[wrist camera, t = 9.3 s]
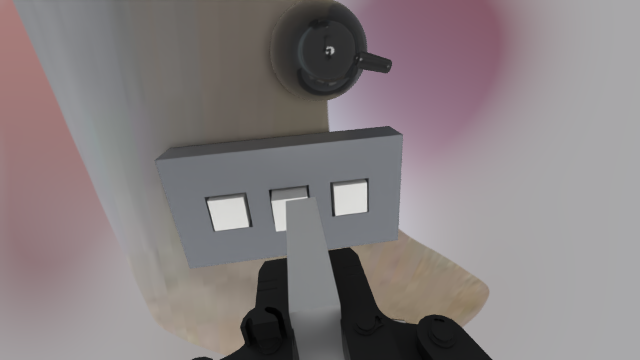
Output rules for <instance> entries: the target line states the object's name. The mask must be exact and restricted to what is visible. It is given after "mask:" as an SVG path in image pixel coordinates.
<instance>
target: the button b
mask: <svg viewBox="0 0 640 360" xmlns="http://www.w3.org/2000/svg"><path fill="white" fill-rule="evenodd" d="M305 198H308V196H307V191H306V186H305V185H304V186H296V187H287V188H279V189H272V198H271V202H272V209H273V215H274V221H275V227H276V232H277V231H285V230H286V201H291V200H298V199H305Z"/></svg>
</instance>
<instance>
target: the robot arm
mask: <svg viewBox="0 0 640 360" xmlns="http://www.w3.org/2000/svg"><path fill="white" fill-rule="evenodd" d="M286 232H287V258H283V259H277V260H270V261H265V262H264V264H263V265H262V267H261V269H260V270H259V275H258V285H257V295H256V305H255V308H254V309H252V310H251V311H249V312H248V313H247V315H246V316H245V317H244V318H243V321H242V323H241V326H240V328H241V331H242V335H243V338H244V341H245V344H244V345H243V346H242V347H241V348H240V349H239V350H237V351H236V352H234V353H232V354H230V355H228V356H226V357H224V358H222V359H220V360H492V359H491V358H490V357H489V356H488V355H487V354H486V353H485V352H484V350H482V349H481V347H480V346H479V345H478V344H477V343H476V342H475V341H474V340H473V339H472V338H471V337H470V336H469V335H468V334H467V333H466V332H465V331H464V329H463V328H462V327H461V326H460V325H458V324H457V323H456V322H455V321H453V320H452V319H450V318H447V317H445V316H442V315H434V314H433V315H429V316H425V317H424V318H423V319H421V320H420V321H419V323H418V324H410V323H403V322H398V321H394V320H392V319H390V318H388V317H387V316H385V315H384V314H383V313H382V312H381V311H380V310H379V308H378V307H377V305H376V302H375V300H374V297H373V294H372V292H371V289H370V286H369V284H368V281H367V278H366V276H365V274H364V270H363V268H362V266H361V262H360V260H359V257H358V255H357V254H356V253H355V252H354V251H353V250H352V249H351V248H350V247H349V248H342V249H336V250H329V251H328V249H327V245H326V241H325V236H324V232H323V228H322V224H321V219H320V215H319V211H318V206H317V202H316V198H315V197H312V198H305V199H298V200H291V201H286ZM192 360H213V359H211V358H208V357H199V358H194V359H192Z"/></svg>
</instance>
